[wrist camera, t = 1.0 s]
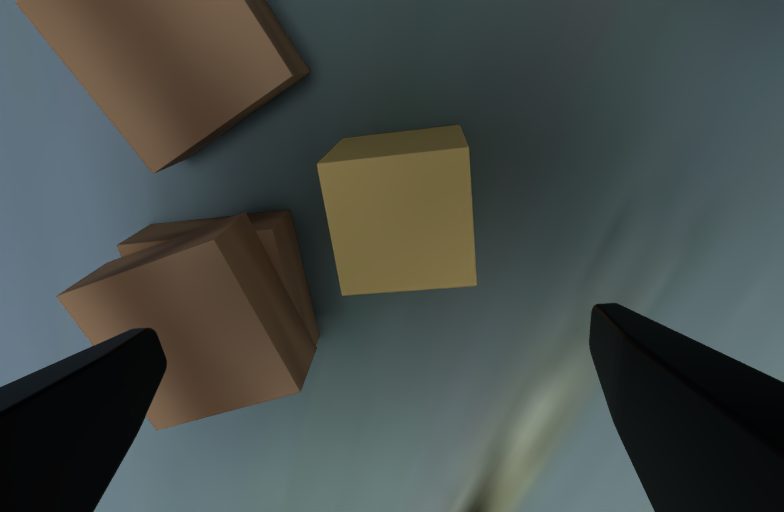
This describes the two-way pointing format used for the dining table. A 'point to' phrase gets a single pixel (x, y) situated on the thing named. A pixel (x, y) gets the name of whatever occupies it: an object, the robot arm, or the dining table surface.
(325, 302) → the dining table surface
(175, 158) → the walnut slab
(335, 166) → the mustard cube
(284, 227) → the walnut slab lower
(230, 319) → the walnut slab upper
